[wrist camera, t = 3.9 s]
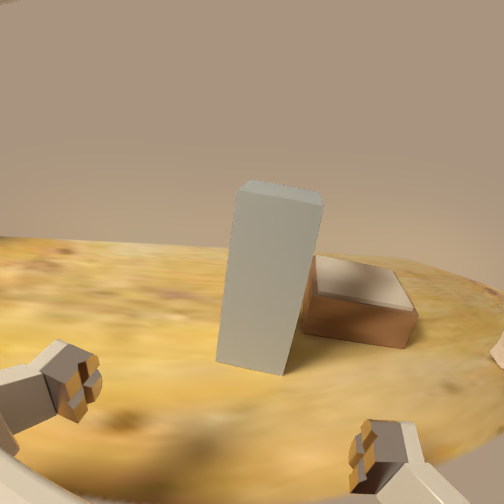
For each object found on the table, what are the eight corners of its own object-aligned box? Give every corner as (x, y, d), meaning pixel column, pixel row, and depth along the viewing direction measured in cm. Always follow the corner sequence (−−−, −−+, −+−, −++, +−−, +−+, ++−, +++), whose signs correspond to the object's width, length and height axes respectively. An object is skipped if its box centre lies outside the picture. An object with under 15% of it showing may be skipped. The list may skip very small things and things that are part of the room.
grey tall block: (215, 361, 18) (237, 189, 15) (230, 326, 22) (251, 179, 19) (282, 375, 18) (323, 205, 14) (287, 338, 22) (320, 192, 18)
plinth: (302, 332, 22) (312, 291, 21) (304, 285, 30) (311, 252, 29) (403, 348, 22) (419, 311, 21) (384, 300, 29) (394, 268, 28)
